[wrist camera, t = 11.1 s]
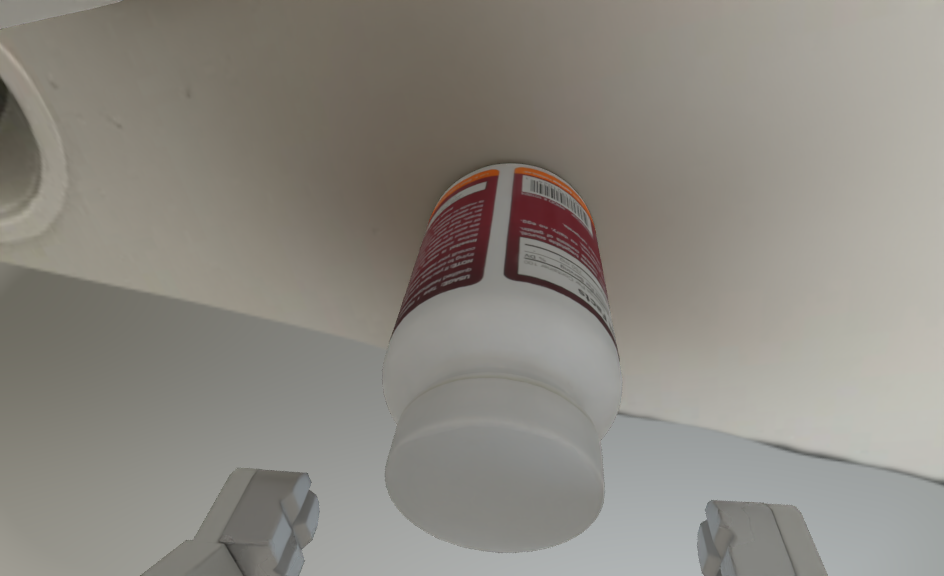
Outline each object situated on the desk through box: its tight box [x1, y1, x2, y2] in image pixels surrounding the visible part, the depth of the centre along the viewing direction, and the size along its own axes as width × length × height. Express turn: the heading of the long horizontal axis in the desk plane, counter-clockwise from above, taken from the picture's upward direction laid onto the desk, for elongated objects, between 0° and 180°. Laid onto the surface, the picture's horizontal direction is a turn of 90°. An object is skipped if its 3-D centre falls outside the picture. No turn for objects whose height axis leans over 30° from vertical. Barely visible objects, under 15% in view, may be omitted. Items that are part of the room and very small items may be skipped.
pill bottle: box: [382, 163, 622, 553], centre depth 16 cm, size 6×6×11 cm
